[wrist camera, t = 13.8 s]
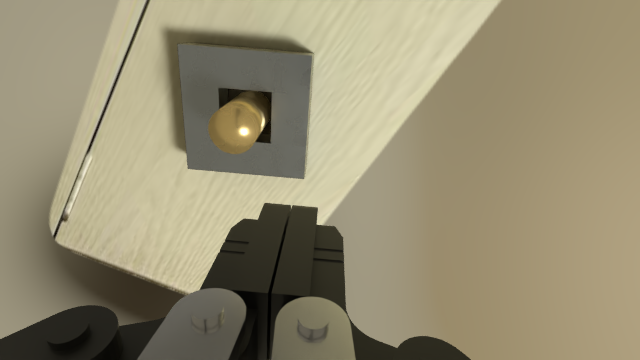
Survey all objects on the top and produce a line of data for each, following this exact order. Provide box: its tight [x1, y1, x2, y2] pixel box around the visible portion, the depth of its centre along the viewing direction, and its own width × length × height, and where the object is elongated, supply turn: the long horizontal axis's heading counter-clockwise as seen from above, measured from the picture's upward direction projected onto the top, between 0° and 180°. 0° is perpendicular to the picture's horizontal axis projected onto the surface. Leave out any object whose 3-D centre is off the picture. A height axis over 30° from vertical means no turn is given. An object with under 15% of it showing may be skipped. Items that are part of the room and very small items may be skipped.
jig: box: [177, 43, 314, 179], centre depth 35 cm, size 12×12×3 cm
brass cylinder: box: [208, 90, 272, 154], centre depth 32 cm, size 4×4×8 cm
